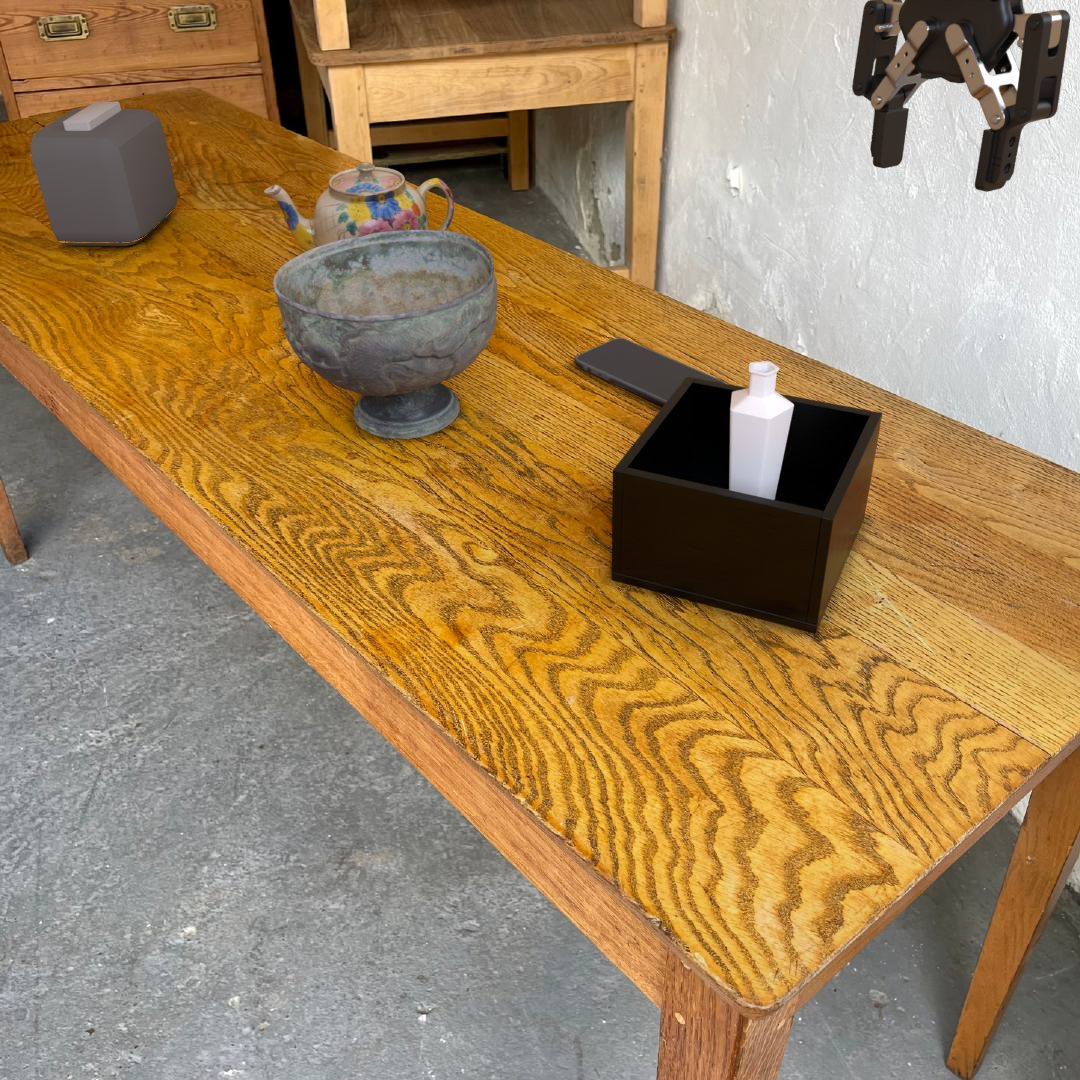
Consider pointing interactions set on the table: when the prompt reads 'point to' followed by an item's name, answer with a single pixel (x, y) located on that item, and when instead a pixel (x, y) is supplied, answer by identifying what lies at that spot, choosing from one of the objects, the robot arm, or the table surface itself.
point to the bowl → (391, 322)
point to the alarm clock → (104, 174)
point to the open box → (742, 508)
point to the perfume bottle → (758, 433)
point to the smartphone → (638, 369)
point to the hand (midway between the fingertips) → (936, 177)
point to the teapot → (361, 206)
